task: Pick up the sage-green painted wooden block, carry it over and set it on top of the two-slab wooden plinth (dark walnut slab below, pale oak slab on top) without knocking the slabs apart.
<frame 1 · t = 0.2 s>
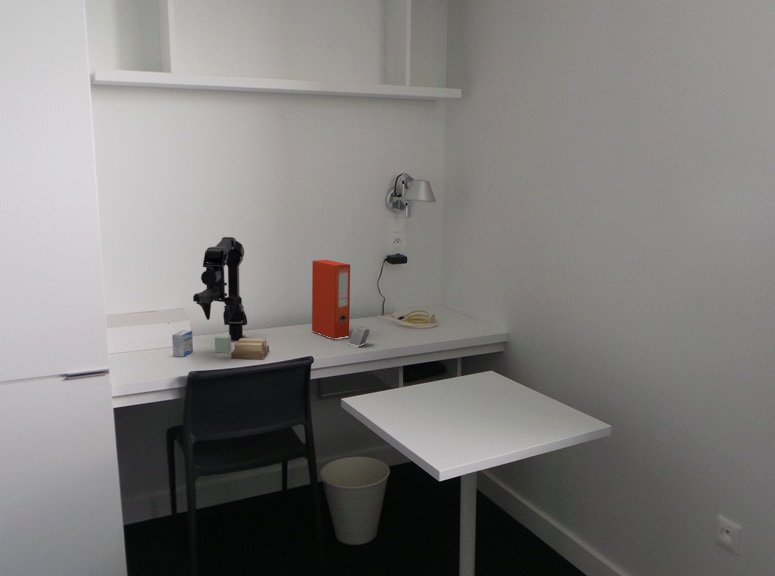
hand: (218, 320, 263), 14 cm above the table, fingers open, 9 cm apart
walnut slab: (250, 356, 267), on the table, touching oak slab
file binder: (330, 335, 300), on the table
sage block: (223, 351, 272), on the table
mineral specimen: (359, 345, 284), on the table
oak slab: (250, 349, 266), point 2 cm above the table, touching walnut slab
medicine box: (183, 354, 266), on the table
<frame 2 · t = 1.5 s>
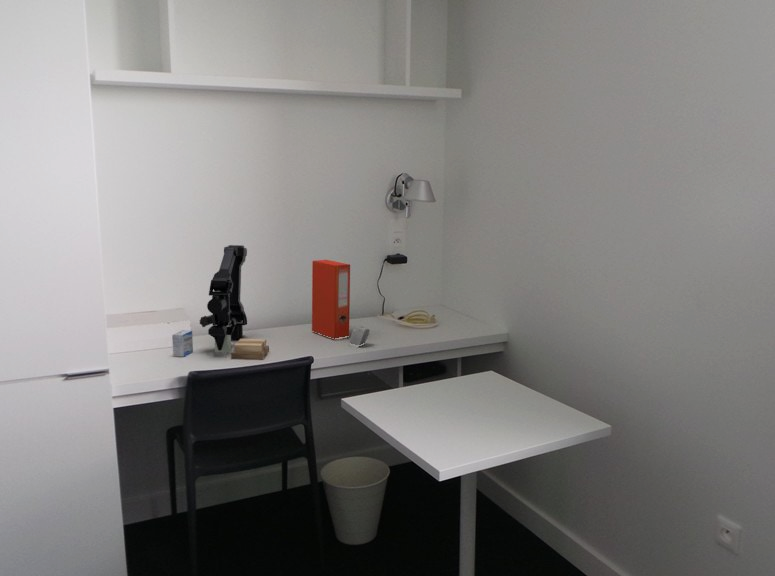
hand: (223, 347, 272), 1 cm above the table, fingers open, 9 cm apart
nothing on the table moved.
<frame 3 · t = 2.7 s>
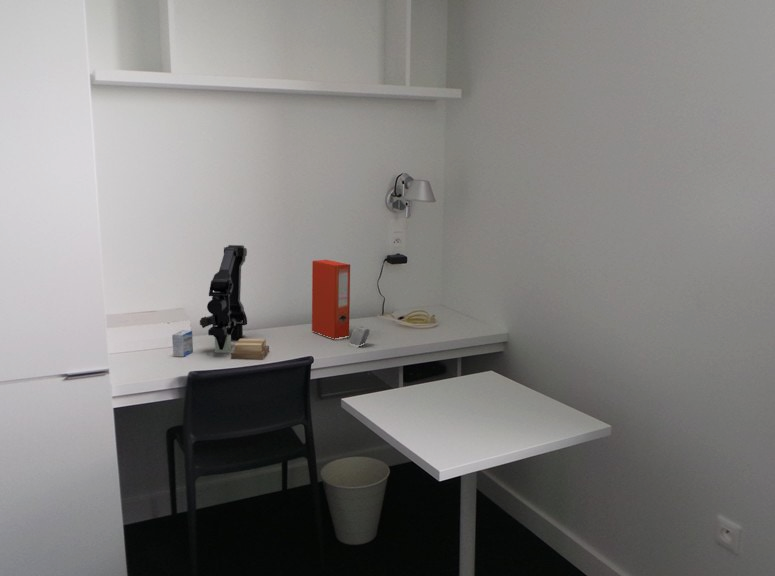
hand: (223, 347, 272), 1 cm above the table, fingers closed on sage block, 5 cm apart
sage block: (223, 350, 272), on the table, touching gripper
everything else where it was.
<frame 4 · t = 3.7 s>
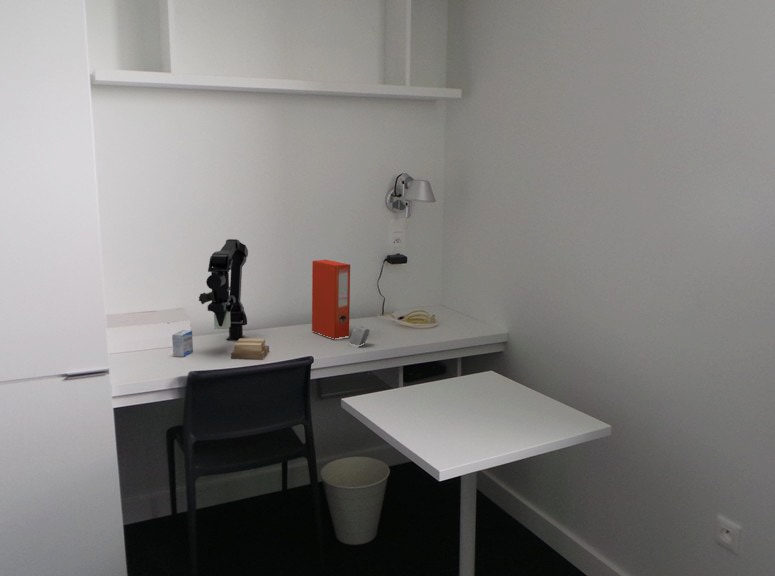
hand: (222, 324, 270), 11 cm above the table, fingers closed on sage block, 5 cm apart
sage block: (222, 327, 270), point 9 cm above the table, touching gripper
everything else where it was.
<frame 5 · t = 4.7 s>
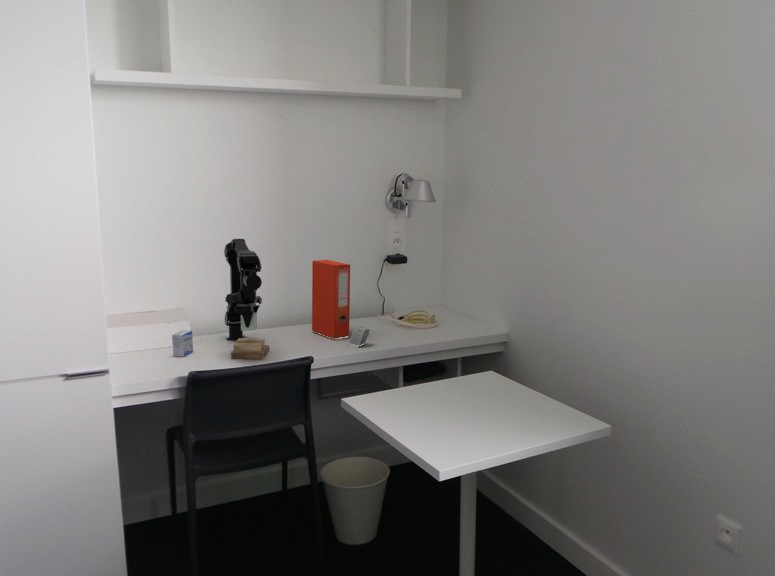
hand: (249, 325, 264), 12 cm above the table, fingers closed on sage block, 5 cm apart
sage block: (249, 328, 265), point 10 cm above the table, touching gripper
everything else where it was.
when the fingers open (8 cm above the table, at t = 6.0 s): sage block drops 2 cm, resting on oak slab.
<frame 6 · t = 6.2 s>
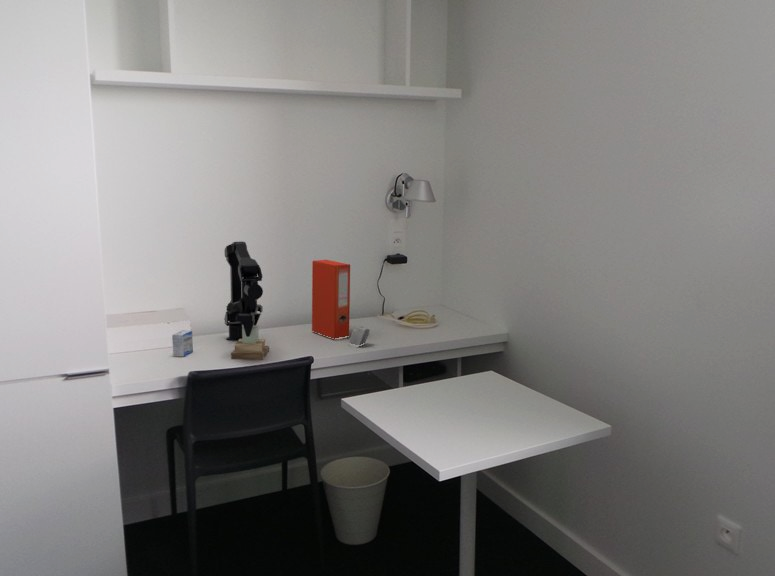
hand: (250, 334, 265), 8 cm above the table, fingers open, 6 cm apart
sage block: (250, 341, 266), point 5 cm above the table, touching oak slab
oak slab: (250, 349, 266), point 2 cm above the table, touching sage block, walnut slab
everything else where it was.
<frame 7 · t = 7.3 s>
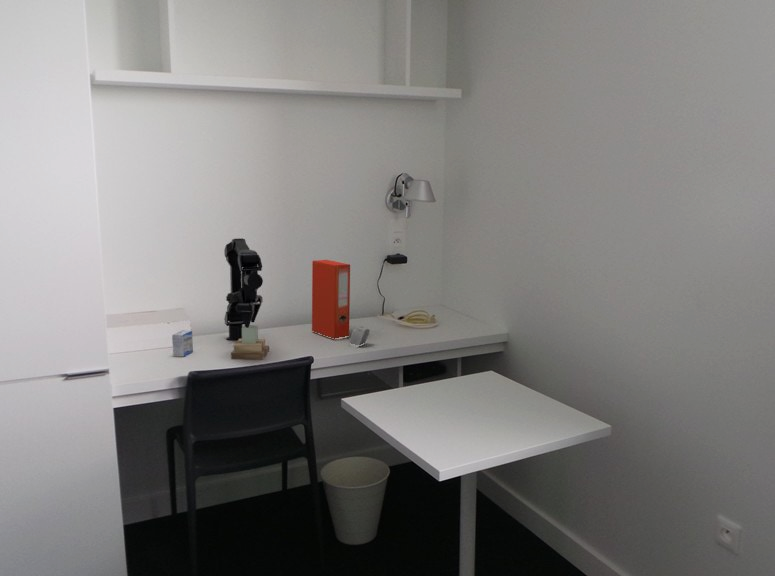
hand: (249, 324, 264), 12 cm above the table, fingers open, 9 cm apart
sage block: (250, 341, 265), point 5 cm above the table
oak slab: (249, 349, 266), point 2 cm above the table, touching walnut slab
everything else where it was.
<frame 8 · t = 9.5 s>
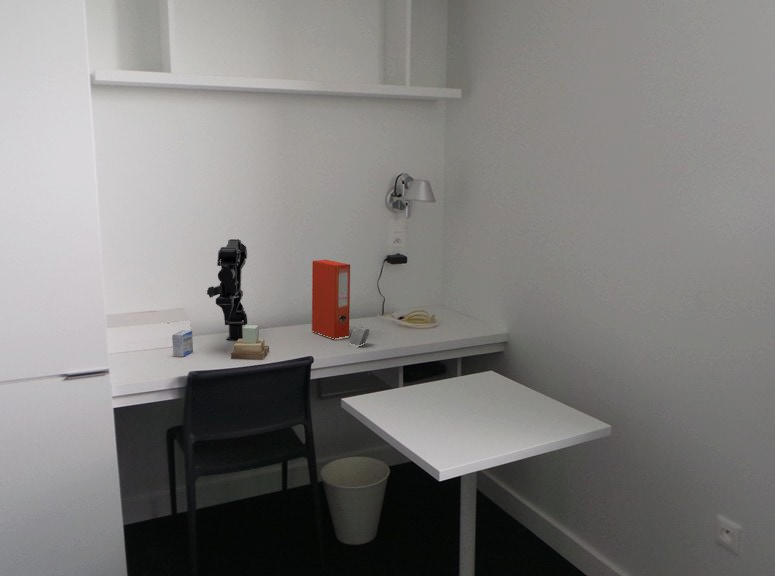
hand: (230, 317, 273), 13 cm above the table, fingers open, 9 cm apart
sage block: (250, 341, 265), point 5 cm above the table, touching oak slab
oak slab: (249, 349, 266), point 2 cm above the table, touching sage block, walnut slab
everything else where it was.
at the end: sage block inside the target area on the walnut slab (0.3 cm from its centre), point 6.0 cm above the walnut slab's base; sage block tilted 0°; oak slab 0.4 cm off-centre on the walnut slab, point 3.0 cm above the walnut slab's base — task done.
